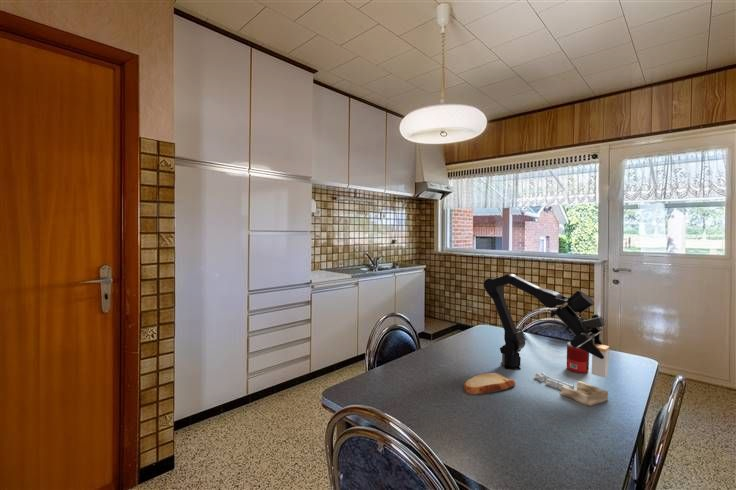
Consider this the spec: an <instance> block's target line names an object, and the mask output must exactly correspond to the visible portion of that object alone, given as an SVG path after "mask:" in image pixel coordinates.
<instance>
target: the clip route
mask: <svg viewBox="0 0 736 490" xmlns="http://www.w3.org/2000/svg"><path fill="white" fill-rule="evenodd" d="M534 379H536V380H538V382H541V383H542V382H543V383H545V385H547V386H550V387H551V388H554V389H557V390H560V391H561V389H562V386H566V387H568V388H571V389H573V390H574V388H575V385H573V384H571V383H568V382H565V381H562V380H560V379H557V378H554V377H552V376H550V375H548V374H546V373H545V372H543V371H542V372H541V373H539V372H535V375H534Z"/></svg>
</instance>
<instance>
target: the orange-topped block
mask: <svg viewBox="0 0 736 490" xmlns="http://www.w3.org/2000/svg"><path fill="white" fill-rule="evenodd" d="M595 345H596V346H597V348H598V349H599V351H600V352H601V353H602V355H603V356H604V358H603V359H600V358H598V357H596V356H594V355H592V354H591V375H594V376H597V377H602V378H606V377H607V376H608V374H609V369H610V366H609V364H610V363H609V361H610V346H609V345H605V344H603V345H600V344H595Z"/></svg>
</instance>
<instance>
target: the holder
mask: <svg viewBox="0 0 736 490" xmlns="http://www.w3.org/2000/svg"><path fill="white" fill-rule="evenodd" d="M576 382H577V386H576V387H574V390H573V389H571V388H568V387H566V386H562V389H561V390H560V392H559V395H562V396H564V397H566V398H568V399H571V400H573V401H576V402H577V403H580V404H582V405H585V406H587V407H588V408H590V407H593V406H596V405H598V404H601V403H603V402H606V401H608V399H609V398H608V397H609V392H608V391H607V390H605V389H602V388H599V387H597V386H594V385H591V384H589V383H586V382H584V381H581V380H578V381H576Z"/></svg>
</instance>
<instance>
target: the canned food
mask: <svg viewBox="0 0 736 490" xmlns="http://www.w3.org/2000/svg"><path fill="white" fill-rule="evenodd" d="M580 346H581V345H579V346H578V347H580ZM578 347H576V348H573V347H572V346H571V344H570V341H568V342H567V343H566V369H567V370H568V371H570V372H572V373H575V374H588V372H589V369H590V368H589V367H590V365H589V364H590V353H589V352H587V351H585V350H583V349H579V348H578Z"/></svg>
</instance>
